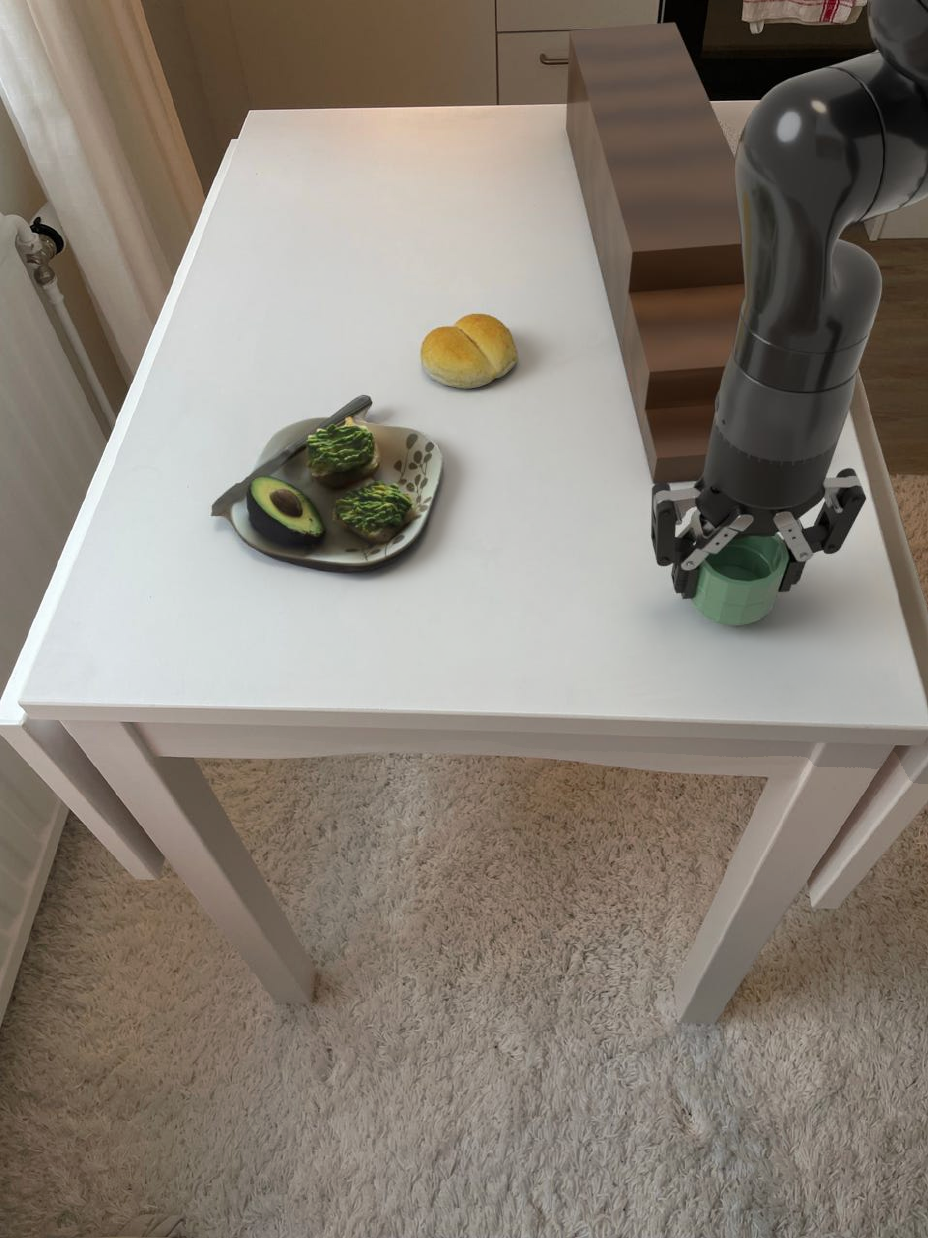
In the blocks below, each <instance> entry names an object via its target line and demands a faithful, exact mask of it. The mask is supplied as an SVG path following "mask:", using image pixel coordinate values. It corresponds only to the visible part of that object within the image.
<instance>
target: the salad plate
mask: <svg viewBox="0 0 928 1238" xmlns="http://www.w3.org/2000/svg"><path fill="white" fill-rule="evenodd" d="M372 406H373V401H372V397H371V396H370V395H367V394H361V395H358V396H357V397H355V398H354V399H352V400H351V401H350V402H348V403H346V404H345V405H344V406H343V407H341V408H340V409H339V410H337V411H336V412H335V413H333V414H332V415H330V416H324V417H323V416H320V417H319V416H318V417H310V418H309V417H308V418H305V419H302V420H299V421H296V422H293V423H291V424H289V425H286V426H284V427H281V428H280V429H278V430H277V431H276V432H274V433H273V434H272V436H271V437H270V438H269V440H268V441H267V442H266V443H265V445H264V446H263V448H262V449H261V451H260V454H259V455H258V457H257V459H256V461H255V462H254V464H253V466H252V468H251V470H250V473H249V475H248V476H246V477H245V478H244V479H243V480H242V481H240V482H236V483H235V484H233V485H232V486H231V487H230V488H229V489H227V490H226V491H225V492H224V493H222V494H221V495H220V496H219V497H218V498H217V499H216V500H215V501H214V502H213V503H212V505H211V513H210V517H222V518H224V519H226V520H227V521H228V522H229V523H230V524H231V526H232V527H233V529H234V531H235V533H236V534H237V535H238V537H239V538H240V539H241V540H242V541H243V542H244V543H245V544H246V545H247V546H248V547H250V548H252V549H254V550H255V551H257V552H258V553H261V554H263V555H264V556H267V557H268V558H271V559H272V560H276V561H279V562H283V563H288V564H291V565H295V566H298V567H302V568H307V569H311V570H316V571H320V572H327V573H328V572H329V573H344V574H345V573H358V572H365V571H370V570H374V569H378V568H381V567H383V566H385V565H387V564H389V563H392V562H393V561H395V560H397V559H398V558H400V557H401V556H403V555H404V554H406V553H407V552H408V551H409V550H411V549H412V547H413V546H414V545H415V544H416V543H417V541H418V540H419V539H420V537H421V536H422V535H423V533H424V531H425V530H426V528H427V525H428V524H429V517H430V512H431V509H432V505H433V502H434V500H435V497H436V494H437V492H438V488H439V484H440V480H441V477H442V472H443V468H444V463H445V462H444V457H443V453H442V451H441V449H440V447H439V446H438V444H437V443H436V442H435V441H434V440H433V439H432V438H431V437H430V436H428V434H426V433H425V432H423V431H421V430H418V429H415V428H412V427H407V426H406V427H405V426H399V425H398V426H397V425H389V424H379V423H373V422H369V421H367V420H366V416H367V413H368V412H369V410H370V409H371V407H372Z"/></svg>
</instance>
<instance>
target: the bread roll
mask: <svg viewBox="0 0 928 1238" xmlns="http://www.w3.org/2000/svg"><path fill="white" fill-rule="evenodd" d="M518 356H519V355H518V350H517V348H516V345H515V341H514V338H513V335H512V333H511V331H510V329H509V328H508V327H507V326H506V325H505V324H504V323H503V322H502V321H501V320H499V319H498V318H496V317H495V316H493V315H490V314H486V313H470V314H466V315H464V316H462V317H461V318H460V319H458V320H457V321H456V322H455V323H454V325H452V326H447V325H446V326H439V327H436V328H435V329H432V330H431V331H430V332H428V334H427V335H425V337H424V339H423V341H422V343H421V347H420V361H421V366H422V368H423V370H424V372H425V374H426V375H427V376H428V377H429V378H430V379H432V380H433V381H435V382H437V383H439V384H441V385H442V386H448V387H452V388H458V389H467V390H469V389H475V388H480V387H483V386H485V385H488V384H490V383H492V381H493V380H494V379H499V378H502V377H503V376H505V375H507V374H508V373H509V372H510V371H511V370H512V369H513V367H514V366H515V365H516V364H517V361H518V359H519V357H518Z"/></svg>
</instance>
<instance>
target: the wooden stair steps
mask: <svg viewBox="0 0 928 1238" xmlns="http://www.w3.org/2000/svg"><path fill="white" fill-rule="evenodd" d="M568 33H569V38H568V61H567V62H568V63H567V64H568V65H567V89H566V92H567V93H566V118H565V128H566V133H567V138H568V142H569V145H570V146H569V147H570V151H571V154H572V158H573V162H574V166H575V170H576V174H577V179H578V182H579V187H580V190H581V195H582V199H583V202H584V207H585V211H586V216H587V219H588V223H589V228H590V231H591V236H592V240H593V244H594V248H595V253H596V256H597V257H596V258H597V260H598V265H599V268H600V273H601V277H602V281H603V285H604V288H605V289H604V290H605V293H606V297H607V302H608V305H609V309H610V313H611V318H612V322H613V326H614V330H615V334H616V338H617V343H618V346H619V351H620V354H621V358H622V363H623V367H624V370H625V374H626V379H627V384H628V387H629V391H630V395H631V399H632V403H633V408H634V411H635V416H636V419H637V424H638V428H639V432H640V436H641V440H642V443H643V448H644V452H645V456H646V460H647V464H648V469H649V472H650V473H649V474H650V476H651V480H652V484H657V483H660V482H665V483H677V482H690V481H692V482H693V481H698V480H699V479H700V477H701V476H702V474H703V472H704V468H705V460H706V455H707V450H708V445H709V440H710V435H711V430H712V425H713V420H714V415H715V410H716V409H715V400H716V395H717V394H718V391H719V390H720V385H721V380H722V376H723V372H724V369H725V366H726V364H727V361H728V359H729V356H730V353H731V350H732V347H733V343H734V338H735V333H736V328H737V323H738V318H739V313H740V308H741V303H742V299H743V294H744V273H743V262H742V250H741V237H740V226H739V217H738V209H737V201H736V193H735V183H734V163H735V155H734V153H733V151H732V148H731V147H730V143H729V141H728V140H727V137H726V135H725V132H724V131H723V128H722V126H721V123H720V122H719V119H718V116H717V114H716V112H715V110H714V108H713V105H712V103H711V100H710V99H709V97H708V94H707V92H706V90H705V87H704V85H703V83H702V81H701V78H700V75H699V74H698V71H697V69H696V66H695V65H694V63H693V60H692V58H691V55H690V53H689V51H688V49H687V46H686V44H685V42H684V40H683V37H682V35H681V32H680V30H679V29H678V26H677V24H676V22H674V21H673V22H661V23H649V24H637V25H625V26H624V25H623V26H612V27H610V26H609V27H598V28H586V29H585V28H584V29H573V30H571V29H570V30H569V32H568Z"/></svg>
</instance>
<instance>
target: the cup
mask: <svg viewBox="0 0 928 1238" xmlns="http://www.w3.org/2000/svg"><path fill="white" fill-rule="evenodd" d="M714 529H715V528H714ZM715 530H716V529H715ZM783 539H784V538H783V537H781V536H780V535H779V533H778V532H777V533H776V534H775V536H771V537H759V536H750V537H746V538H742V539H731V540H730V541H729V542H728V543H727V544H726V545H725V546H724V547H723V548H722V549H721V550H720V551H719V552H718V553H717V554H711V553H710V554H709V555H708V556H707V557H706V558H705V559H704V560H703V561H702V562H701V563H700V564H699V565H698V566H699V573H698V578H697V582H696V587H695V591H694V596H693V599H689V601H691V603H692V604H693V605H694V606H695V607H696V609H697V610H698V611H699V612H700V613H701V614H702V615H703V616H705V617H706V618H707V619H709V620H711V621H714V622H715V623H718V624H721V625H726V626H745V625H748V624H752V623H754V622H758V621H760V620H761V619H762V618H764V617H765V616H766V615H767V614H769V613H770V612H771V611H772V610H773V607H774V604H775V601H776V599H777V596H778V593H779V592H778V590H779V587H780V584H781V581H782V578H783V575H784V572H785V569H786V566H787V563H788V560H789V554H788V550H787V547H786V543H785V541H784V540H783Z"/></svg>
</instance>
